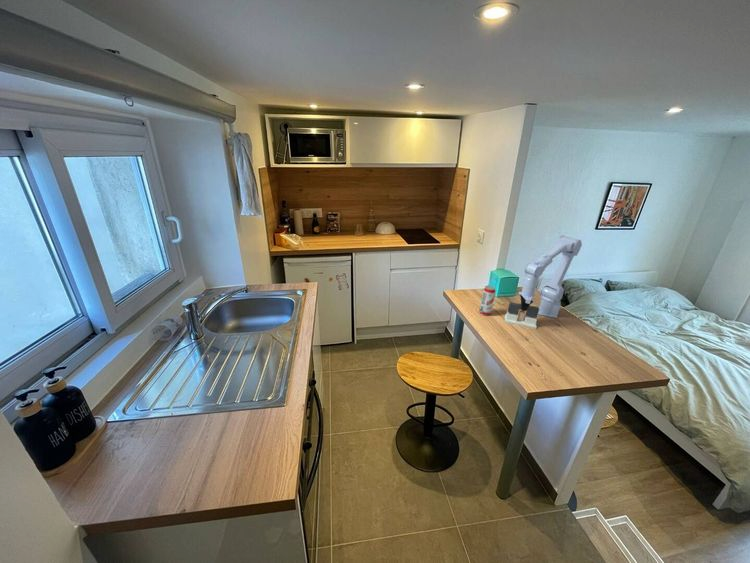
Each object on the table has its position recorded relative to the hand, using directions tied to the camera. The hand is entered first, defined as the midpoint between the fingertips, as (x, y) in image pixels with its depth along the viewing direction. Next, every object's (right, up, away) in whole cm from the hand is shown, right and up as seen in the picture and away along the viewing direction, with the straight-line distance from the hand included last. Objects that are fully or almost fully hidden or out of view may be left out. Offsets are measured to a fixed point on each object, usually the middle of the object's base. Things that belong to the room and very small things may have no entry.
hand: (523, 309), depth 151 cm
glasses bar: (0, -2, +1) cm, 3 cm away
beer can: (-16, -3, +11) cm, 20 cm away
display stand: (0, -7, +3) cm, 8 cm away
